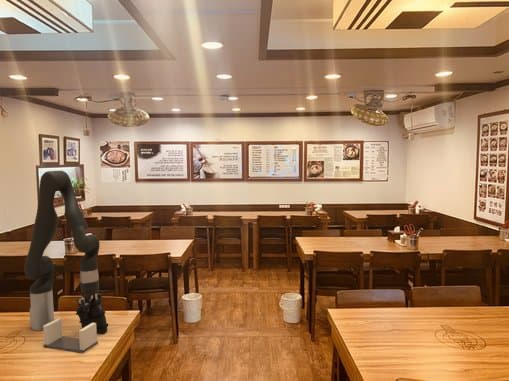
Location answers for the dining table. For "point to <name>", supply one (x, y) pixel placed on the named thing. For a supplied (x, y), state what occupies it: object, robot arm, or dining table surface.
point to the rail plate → (68, 344)
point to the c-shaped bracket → (55, 332)
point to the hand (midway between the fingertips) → (91, 316)
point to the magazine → (94, 317)
